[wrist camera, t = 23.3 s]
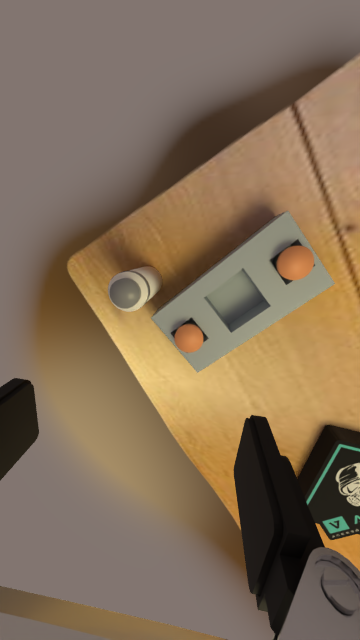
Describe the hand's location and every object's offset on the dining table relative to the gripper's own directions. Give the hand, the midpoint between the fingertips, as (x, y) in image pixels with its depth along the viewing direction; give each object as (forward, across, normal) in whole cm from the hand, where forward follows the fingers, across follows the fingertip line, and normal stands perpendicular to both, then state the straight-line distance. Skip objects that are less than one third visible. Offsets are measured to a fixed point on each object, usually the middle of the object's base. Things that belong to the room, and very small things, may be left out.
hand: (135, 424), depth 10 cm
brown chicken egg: (+29, -14, -7) cm, 33 cm away
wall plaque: (+31, -40, +34) cm, 61 cm away
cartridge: (+30, +7, -1) cm, 31 cm away
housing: (+30, -8, -1) cm, 31 cm away
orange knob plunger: (+29, -1, +6) cm, 29 cm away
